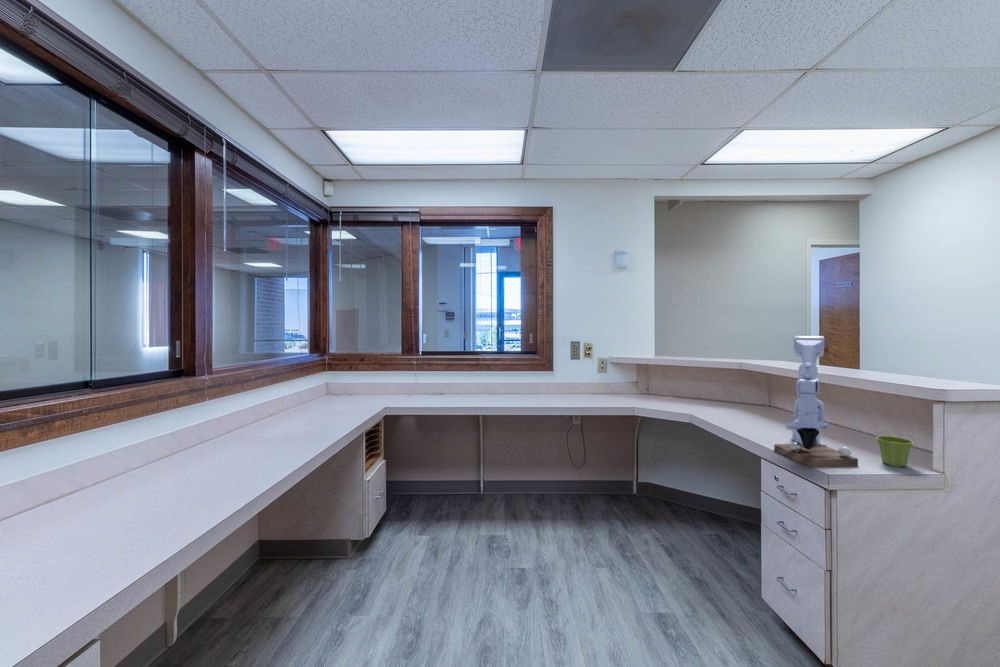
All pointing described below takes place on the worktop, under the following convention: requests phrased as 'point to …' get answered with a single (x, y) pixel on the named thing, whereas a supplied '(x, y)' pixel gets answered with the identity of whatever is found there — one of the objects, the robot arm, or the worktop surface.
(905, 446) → the plant pot
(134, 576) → the worktop surface
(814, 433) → the robot arm
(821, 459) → the board
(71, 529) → the worktop surface
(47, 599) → the worktop surface
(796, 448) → the steel ball
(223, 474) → the worktop surface
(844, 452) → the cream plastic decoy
